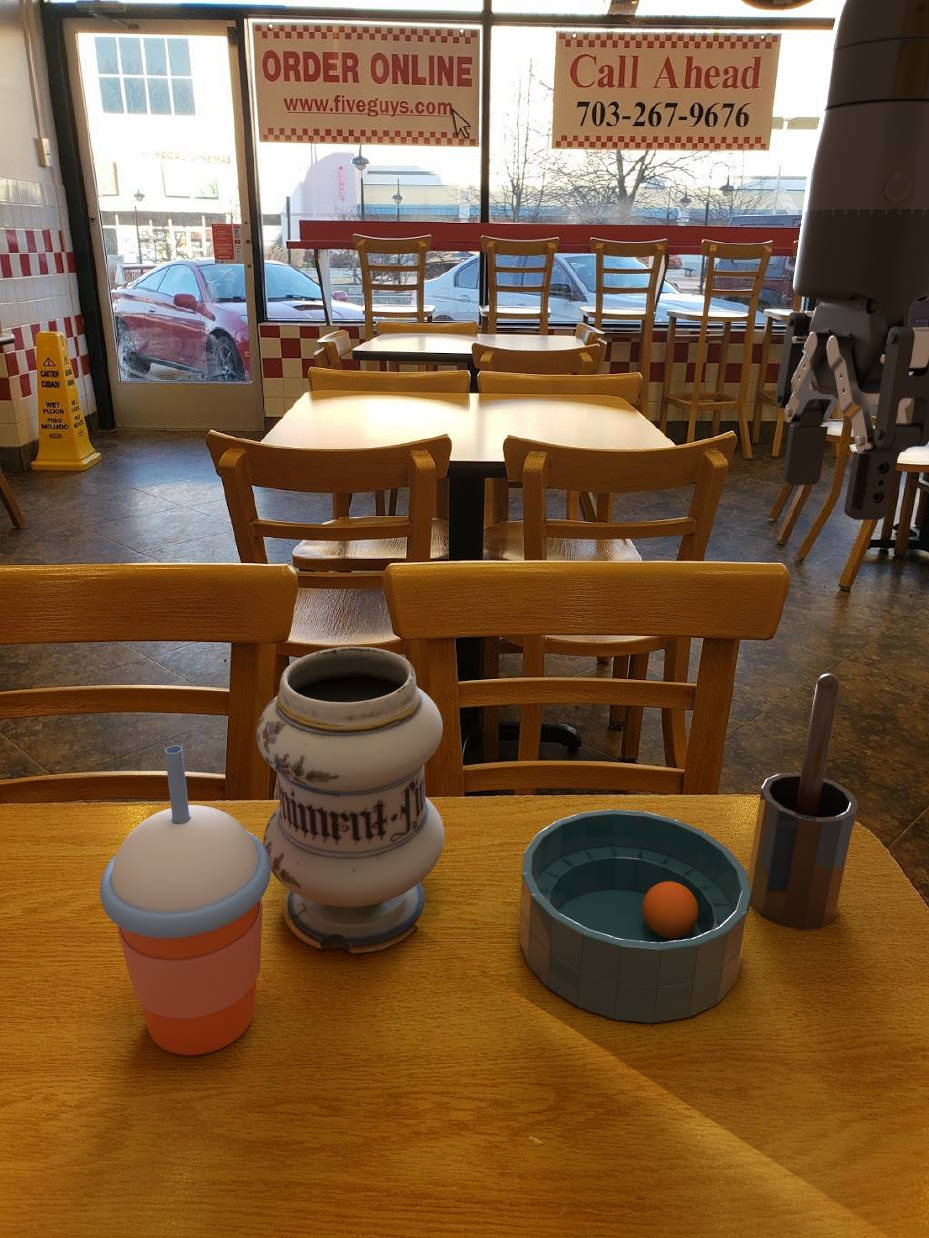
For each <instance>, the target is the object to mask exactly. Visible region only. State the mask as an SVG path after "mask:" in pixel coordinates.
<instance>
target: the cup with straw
mask: <svg viewBox="0 0 929 1238" xmlns="http://www.w3.org/2000/svg"><path fill="white" fill-rule="evenodd" d="M164 756H165V764H166V773H167V783H168V790H169V798H170V799H169V800H170V808H167V809H164V810H161V811H159V812H157V813H154V814H152V815H151V816H149V817H147V818H146V819H145V820H143V821H142V822H140V823H139V824H138V825H137V826H136V827H134V828H133V830H131V831H130V833H129V834H128V835H127V836H126V837H125V839H124V840H123V842H122V843H121V845H120V846H119V848H118V851H117V852H116V854H115V855H114V856H113V857H111V859H110V861H109V862H108V864H107V865H106V867H105V869H104V871H103V873H102V877H101V879H100V885H99V897H100V902H101V906H102V908H103V909H104V910H103V911H104V912H105V914H106V915H107V916H108V918H109V919H110V920H111V922H113V923H114V924H115V925H116V926H117V932H118V938H119V942H120V945H121V949H122V952H123V956H124V959H125V964H126V967H127V971H128V974H129V978H130V982H131V984H132V990H133V993H134V996H135V998H136V1000H137V1001H138V1003H139V1004H140V1005H141V1009H142V1012H143V1015H144V1020H145V1024H146V1027H147V1030H148V1033H149V1035H150V1037H151V1039H152V1041H153V1042H154V1043H155V1044H156V1045H157V1046H158V1047H160V1048H161V1049H162V1050H164V1051H165V1052H168V1053H171V1054H175V1055H180V1056H200V1055H206V1054H209V1053H213V1052H215V1051H218V1050H220V1049H223V1048H225V1047H227V1046H228V1045H230V1044H231V1043H233V1042H234V1041H236V1040H237V1039H238V1038H240V1037H241V1036H242V1035H243V1034H244V1033H245V1032H246V1031H247V1029H248V1028H249V1027H250V1025H251V1023H252V1021H253V1019H254V1015H255V1011H256V1002H257V1001H256V1000H257V979H258V977H259V974H260V970H261V956H262V955H261V954H262V933H263V932H262V931H263V930H262V927H263V900H262V898H263V896H264V895H265V893H266V891H267V889H268V887H269V884H270V881H271V876H272V871H271V864H270V858H269V855H268V853H267V850H266V848H265V847H264V845H263V841H261V840H260V839H259V838H258V837H257V836H255V834H253V833H252V832H250V831H248V830H247V828H246V827H245V826H244V825H243V824H242V823H241V822H240V821H239V820H238V819H236V818H235V817H233V816H232V815H230V814H229V813H227V812H224V811H223V810H220V809H219V808H218V809H217V808H214V807H210V806H206V805H197V804H189V799H188V789H187V780H186V771H185V761H184V751H183V747H182V746H181V745H176V744H174V745H170V746H167V747H166V748H164Z"/></svg>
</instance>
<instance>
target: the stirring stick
mask: <svg viewBox="0 0 929 1238" xmlns="http://www.w3.org/2000/svg"><path fill="white" fill-rule="evenodd" d="M840 688H841V683H840V680H839V678H838V677H837V676H836V675H834V674H832V673H824V674H822V675H820V676H819V677H818V679H817V680H816V686H815V690H814V691H815V692H814V696H813V702H812V707H811V708H812V709H811V715H810V721H809V727H808V733H807V739H806V745H805V751H804V756H803V762H802V769H801V773H802V774H801V780H800V786H799V791H798V797H797V803H796V809H795V812H796V813H799V814H801V815H807V816H813V817H817V813H818V807H819V802H820V796H821V791H822V785H823V779H824V778H825V773H826V767H827V762H828V756H829V751H830V746H831V740H832V733H833V729H834V723H835V717H836V713H837V706H838V699H839V695H840Z"/></svg>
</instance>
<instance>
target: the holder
mask: <svg viewBox="0 0 929 1238" xmlns="http://www.w3.org/2000/svg"><path fill="white" fill-rule="evenodd" d="M801 774H802V772H786V773H785V772H784V773H777V774H776V775H773V776H771V777H769V778H766V779H765V780H764V782H763V784H762V786H761V789H760V795H759V802H758V808H757V815H756V822H755V827H754V835H753V840H752V847H751V853H750V854H751V855H750V861H749V866H748V867H749V868H748V873H747V877H748V881H749V885H750V888H751V900H750V907H752V909H754V910H755V912H756V913H758V914H759V915H760V916H762V917H763V918H765V919H766V920H768V921H769V922H772V923H775V924H776V925H779V926H782V927H786V928H790V929H795V930H803V931H804V930H806V931H807V930H817V929H820V928H824V927H826V926H828V925H829V924H831V923H832V922H833V921H834V920H835V918H836V915H837V912H838V909H839V903H840V899H841V893H842V888H843V882H844V877H845V872H846V867H847V863H848V857H849V852H850V848H851V842H852V837H853V832H854V828H855V822H856V816H857V813H858V812H857V811H858V806H859V803H858V802H857V800H856V798H855V796H854V794H853V793H852V792H851V791H850V790H848V789H847V788H845V787H844V786H842V785H841V784H840V783H837V782H836V781H833V780H830V779H828V778H825V777H824V779H823V785H822V791H821V796H820V802H819V807H818V813H817V817H813V816H807V815H801V814H799V813H796V812H795V809H796V803H797V797H798V791H799V786H800V780H801Z"/></svg>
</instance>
